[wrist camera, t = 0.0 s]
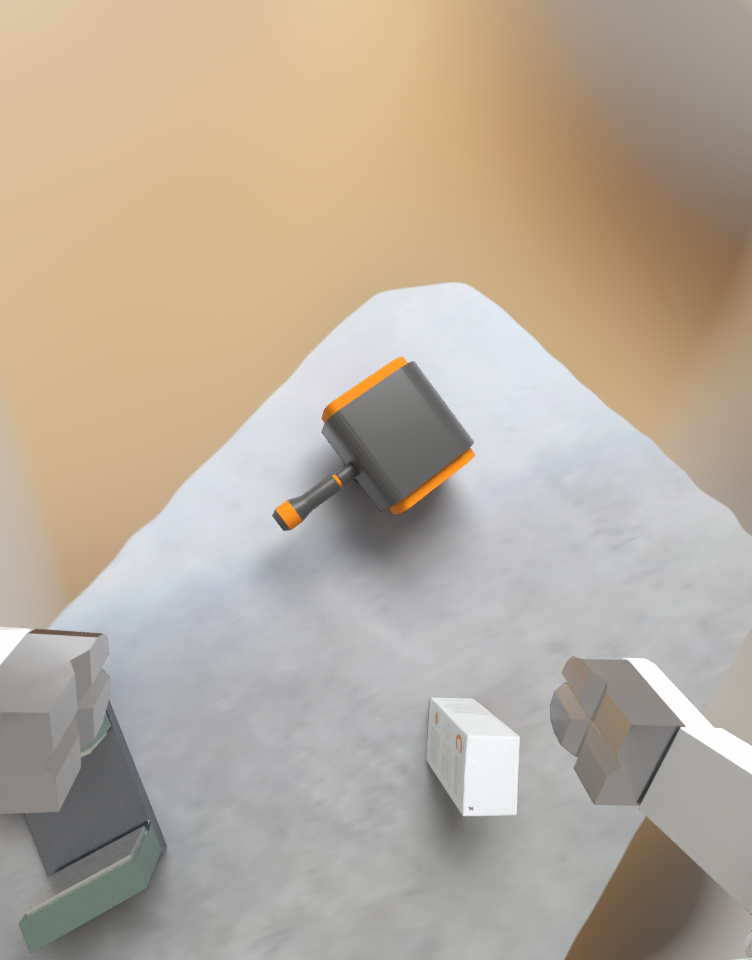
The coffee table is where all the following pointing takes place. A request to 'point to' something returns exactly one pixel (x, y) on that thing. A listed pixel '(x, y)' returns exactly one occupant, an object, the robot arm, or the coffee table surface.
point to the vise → (93, 843)
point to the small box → (473, 757)
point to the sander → (387, 443)
